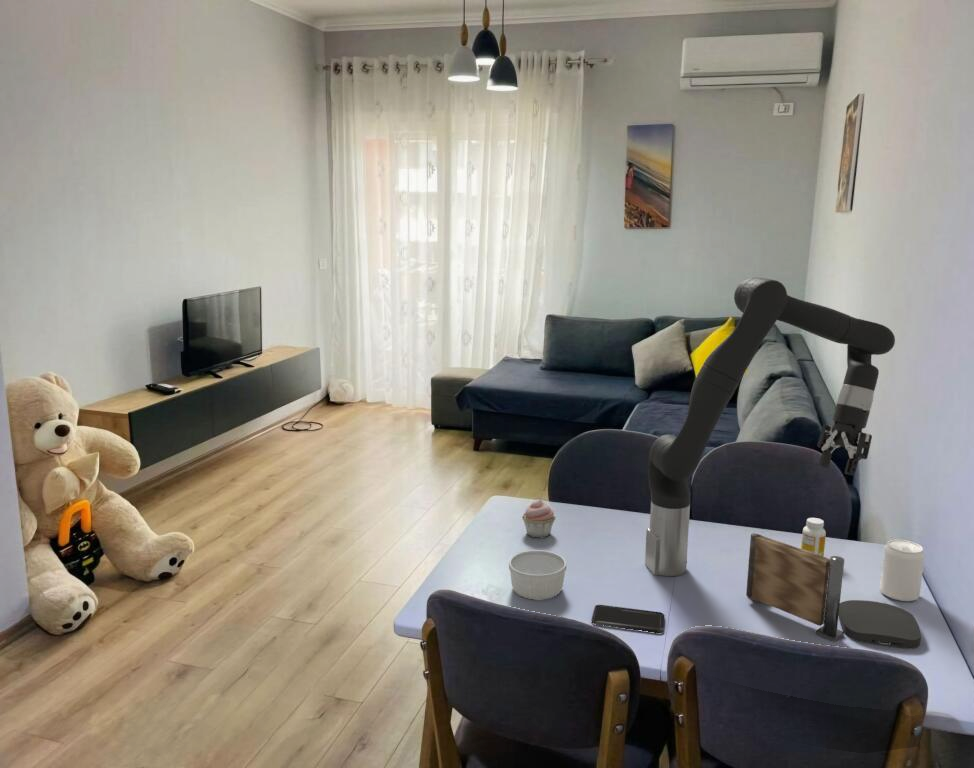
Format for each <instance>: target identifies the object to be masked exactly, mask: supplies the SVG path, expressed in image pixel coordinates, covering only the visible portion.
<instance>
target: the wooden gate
mask: <svg viewBox="0 0 974 768" xmlns="http://www.w3.org/2000/svg"><path fill="white" fill-rule="evenodd" d="M748 553H749V555H748V565H747V567H748V568H747V581H746V593H745V594H746V597H747V598H748V597H750V598H749V599H751V598H754V599H756V600H758V601H761V602H762V604H763V603H764V604H766V605H768V606H770V607H773V608H775V609H778V610H780V611H783V612H785V613H788V614H790V615H793V616H795V617H798V618H799V619H802V620H805V621H806V622H809V623H812V624H814V625H816V626H819V627H822V626H823V625H824V615H825V605H826V595H827V586H828V576H829V566H830V558H829V557H825V556H824V557H823V556H820V555H817V554H814V553H811V552H808V551H806V550H803V549H801V548H799V547H798V546H797V547H796V546H793V545H791V544H787V543H785V542H781V541H778V540H776V539H773V538H771V537H768V536H766V535H765V536H764V535H761V534H760V533H755V532H754V533H753V532H752V533H751V534H750V543H749V552H748ZM756 600H755V601H756ZM758 601H757V602H758Z"/></svg>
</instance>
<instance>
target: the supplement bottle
mask: <svg viewBox="0 0 974 768" xmlns="http://www.w3.org/2000/svg"><path fill="white" fill-rule="evenodd" d="M824 527H825V522H824V520H823V519H821V518H819V517H818V518H817V517H808V518H807V519H806V524H805V526H804V527H803V529H802V535H801V536H802V537H801V548H800V549H803V550H806V551H808V552H811V553H814V554H817V555H820V556H823V557H825V547H826V536H827V535H826V534H827V533H826V530H825V528H824Z"/></svg>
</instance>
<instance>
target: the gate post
mask: <svg viewBox="0 0 974 768" xmlns="http://www.w3.org/2000/svg"><path fill="white" fill-rule="evenodd" d="M829 559H830V566H829V575H828V584H827V594H826V604H825V614H824V623H823V624H822V625H821V626H819V627H818V629H816V630H815V633H814V634H815V635H816V636H818V637H821V638H823V639H826V640H828V641H830V642H832V643H835V642H837V641H838V640H840V639H841V638H842V637H844V635H845V634H844V632H843V630H840V629H838V623H839V622H838V621H839V616H838V615H839V606H840V603H841V595H842V587H843V586H842V585H843V577H844V576H843V575H844V569H845V568H844V567H845V558H843V557H841V556H839V555H838V556H837V555H832V556H830V558H829ZM747 598H749V599H751V600H753V601H756V602H758V603H760V602H761V601H758V600H756V599H754V598H750V597H747Z"/></svg>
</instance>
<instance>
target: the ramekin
mask: <svg viewBox="0 0 974 768" xmlns="http://www.w3.org/2000/svg"><path fill="white" fill-rule="evenodd" d="M508 569H509V572H510V581H511V587H512V589H513V590H514V592H515V593H516V594H517V595H518V596H520V597H521V596H522V598H523V597H524V599H526V598H528V599H527V600H530V599H534V600H533V601H544V600H543V599H546V600H550V599H553V598H554V596H555V597H556V596H558V595H559V594H560V593H561V591H562V589H563V586H564V581H565V574H566V570H567V562H566V560H565V558H564V557H562V555H560V554H557V553H555V552H552V551H549V550H548V551H547V550H542V549H539V550H538V549H534V550H533V549H531V550H525V551H521V552H518V553H516V554H513V555H512V556H511V557H510V559H509V561H508ZM557 594H558V595H557ZM552 597H553V598H552ZM549 598H550V599H549Z"/></svg>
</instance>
